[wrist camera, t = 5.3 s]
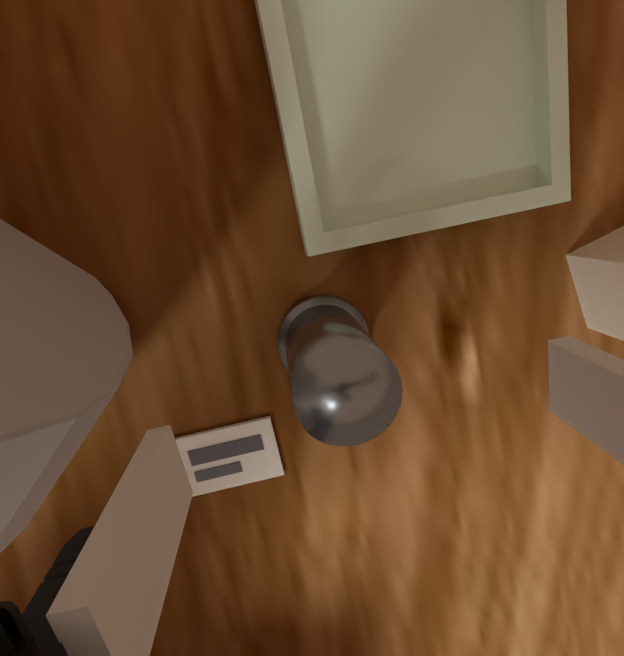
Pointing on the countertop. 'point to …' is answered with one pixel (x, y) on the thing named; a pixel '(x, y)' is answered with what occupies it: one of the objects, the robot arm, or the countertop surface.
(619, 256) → the cream block
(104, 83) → the countertop surface
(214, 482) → the label tile
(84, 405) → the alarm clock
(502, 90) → the tray
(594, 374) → the robot arm
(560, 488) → the countertop surface
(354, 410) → the metal door knob
